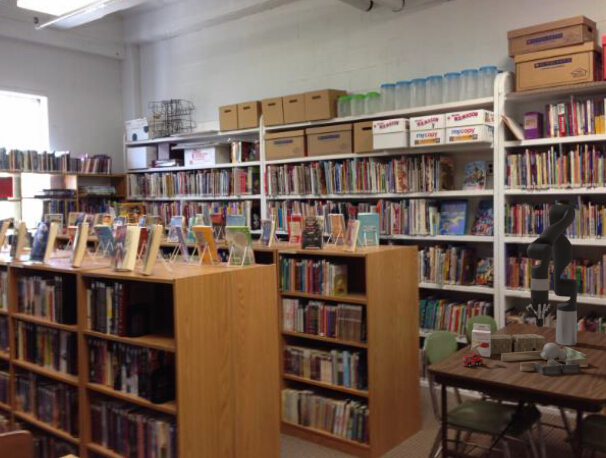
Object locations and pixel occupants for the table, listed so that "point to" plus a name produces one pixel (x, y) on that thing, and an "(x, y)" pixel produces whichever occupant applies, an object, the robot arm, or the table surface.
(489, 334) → the ink cartridge box
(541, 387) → the table surface
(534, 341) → the block tower
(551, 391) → the table surface
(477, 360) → the toy fire truck
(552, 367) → the trap channel
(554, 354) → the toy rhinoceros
